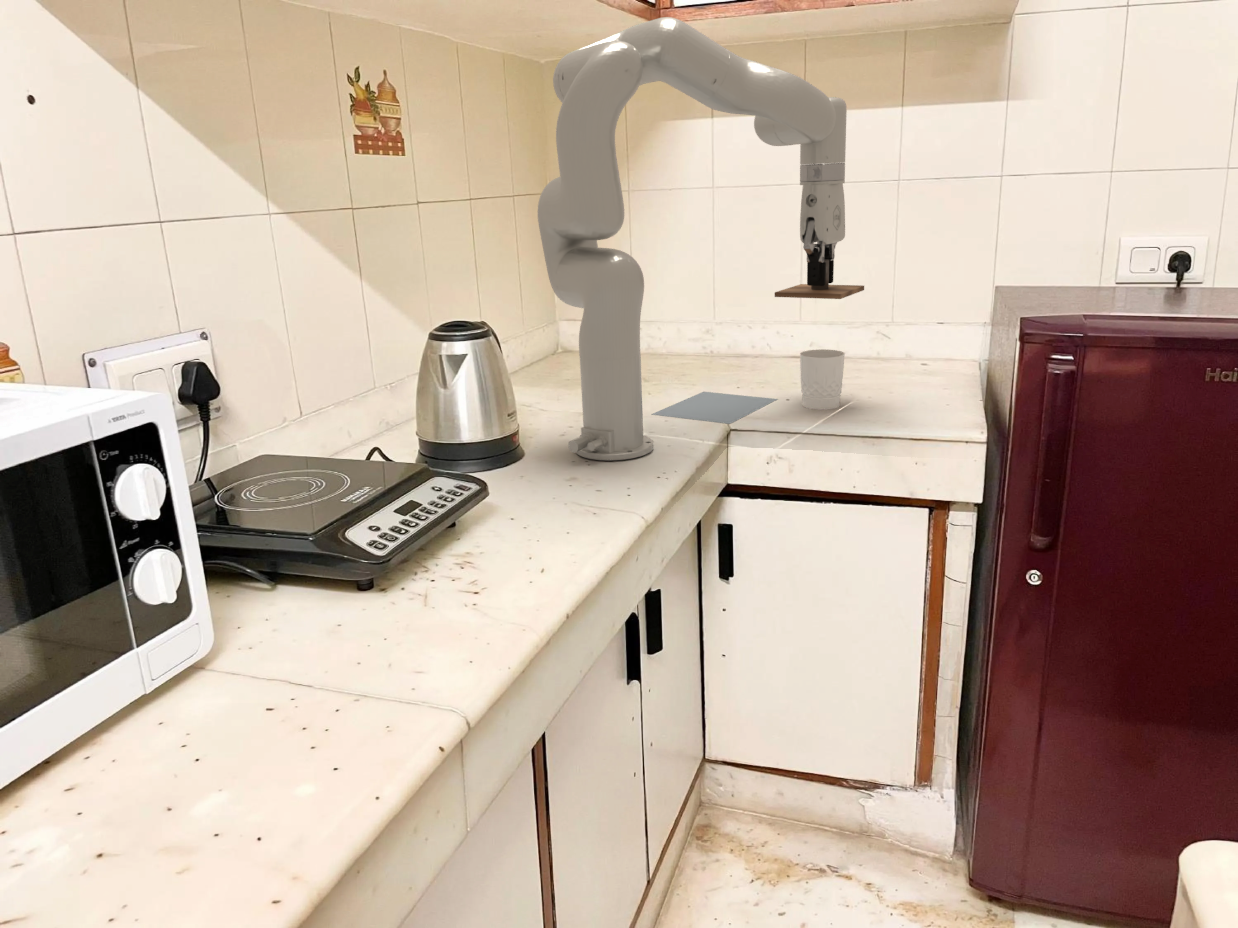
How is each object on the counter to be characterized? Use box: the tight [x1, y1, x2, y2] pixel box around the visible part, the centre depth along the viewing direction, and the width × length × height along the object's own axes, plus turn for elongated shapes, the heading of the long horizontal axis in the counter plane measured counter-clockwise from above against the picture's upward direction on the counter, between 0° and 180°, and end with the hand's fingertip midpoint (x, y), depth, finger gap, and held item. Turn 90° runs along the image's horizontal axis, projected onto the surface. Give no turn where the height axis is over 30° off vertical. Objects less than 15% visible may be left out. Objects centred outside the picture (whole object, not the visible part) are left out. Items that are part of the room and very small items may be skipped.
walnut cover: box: [774, 259, 865, 300], centre depth 162 cm, size 12×12×6 cm
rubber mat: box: [651, 391, 779, 425], centre depth 171 cm, size 20×16×1 cm
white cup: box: [799, 349, 846, 411], centre depth 167 cm, size 8×8×10 cm
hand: (820, 283), depth 162 cm, fingers closed on walnut cover, 3 cm apart
